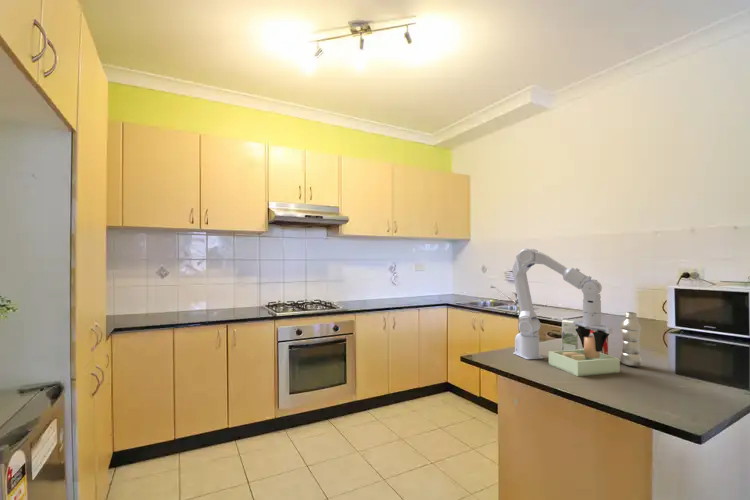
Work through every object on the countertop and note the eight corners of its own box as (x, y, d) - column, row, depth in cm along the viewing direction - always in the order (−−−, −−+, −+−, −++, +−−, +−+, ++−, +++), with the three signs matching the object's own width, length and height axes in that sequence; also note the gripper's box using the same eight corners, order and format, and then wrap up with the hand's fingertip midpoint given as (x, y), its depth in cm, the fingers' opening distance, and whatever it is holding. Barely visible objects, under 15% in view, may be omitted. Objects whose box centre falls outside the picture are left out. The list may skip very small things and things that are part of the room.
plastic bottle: (634, 363, 142) (634, 311, 142) (645, 368, 135) (645, 314, 135) (616, 362, 142) (616, 311, 142) (626, 367, 135) (626, 313, 136)
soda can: (607, 362, 142) (607, 331, 142) (586, 359, 146) (586, 329, 146) (609, 358, 148) (609, 329, 148) (588, 355, 152) (588, 326, 152)
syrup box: (578, 355, 153) (578, 320, 153) (577, 358, 148) (577, 322, 148) (562, 352, 156) (562, 318, 156) (561, 356, 151) (561, 320, 151)
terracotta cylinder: (580, 355, 136) (580, 336, 137) (589, 354, 138) (589, 335, 139) (593, 359, 132) (593, 339, 132) (602, 357, 134) (602, 338, 134)
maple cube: (562, 366, 135) (562, 352, 135) (573, 365, 136) (573, 351, 136) (573, 370, 130) (573, 356, 130) (584, 369, 131) (584, 355, 131)
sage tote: (548, 364, 139) (548, 351, 139) (587, 361, 143) (587, 348, 143) (577, 376, 125) (577, 361, 125) (619, 372, 130) (619, 358, 130)
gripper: (567, 310, 141) (567, 345, 141) (602, 316, 127) (602, 355, 127) (580, 309, 143) (580, 344, 143) (616, 315, 130) (616, 353, 130)
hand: (591, 349), depth 135 cm, fingers closed on terracotta cylinder, 5 cm apart
